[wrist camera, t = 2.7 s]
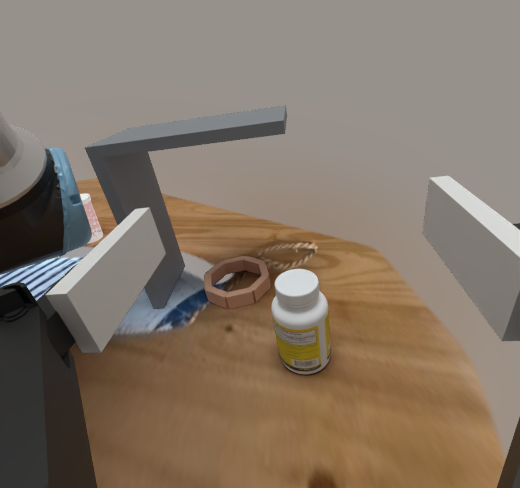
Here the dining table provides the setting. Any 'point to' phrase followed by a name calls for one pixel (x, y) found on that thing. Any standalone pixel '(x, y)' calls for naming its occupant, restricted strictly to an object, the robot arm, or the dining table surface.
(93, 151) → the grey l-shaped rod
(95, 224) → the beverage cup
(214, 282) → the socket
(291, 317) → the supplement bottle
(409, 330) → the dining table surface
